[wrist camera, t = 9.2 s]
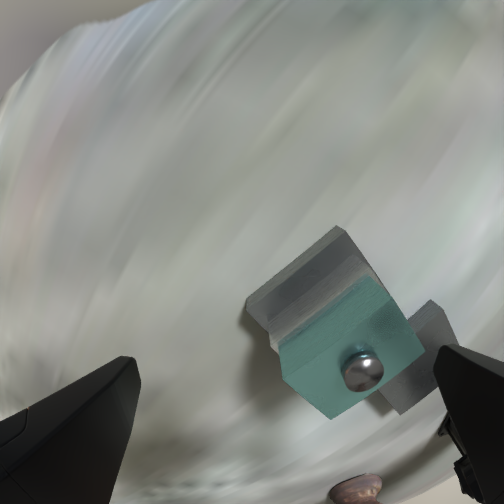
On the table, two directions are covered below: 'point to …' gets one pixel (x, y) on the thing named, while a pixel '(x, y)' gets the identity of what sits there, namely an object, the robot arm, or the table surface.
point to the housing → (343, 339)
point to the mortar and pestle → (357, 490)
